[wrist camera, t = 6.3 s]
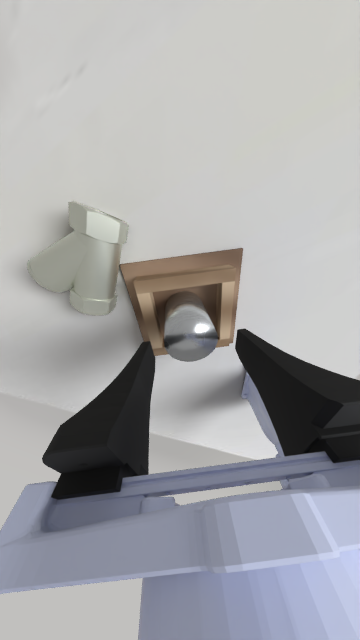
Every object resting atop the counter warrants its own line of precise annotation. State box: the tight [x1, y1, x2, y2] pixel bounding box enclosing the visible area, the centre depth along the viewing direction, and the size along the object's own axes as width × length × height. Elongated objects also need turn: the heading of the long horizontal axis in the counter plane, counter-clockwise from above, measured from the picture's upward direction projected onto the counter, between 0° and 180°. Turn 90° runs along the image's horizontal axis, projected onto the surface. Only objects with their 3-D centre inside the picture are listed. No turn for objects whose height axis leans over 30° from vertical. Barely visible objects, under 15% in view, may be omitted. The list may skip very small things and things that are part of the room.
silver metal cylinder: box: [164, 291, 218, 362], centre depth 14 cm, size 4×4×6 cm
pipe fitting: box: [27, 202, 129, 316], centre depth 12 cm, size 8×4×7 cm
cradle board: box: [120, 248, 243, 356], centre depth 17 cm, size 12×12×3 cm
